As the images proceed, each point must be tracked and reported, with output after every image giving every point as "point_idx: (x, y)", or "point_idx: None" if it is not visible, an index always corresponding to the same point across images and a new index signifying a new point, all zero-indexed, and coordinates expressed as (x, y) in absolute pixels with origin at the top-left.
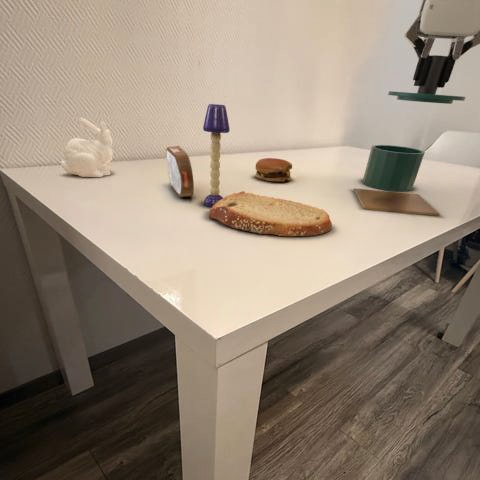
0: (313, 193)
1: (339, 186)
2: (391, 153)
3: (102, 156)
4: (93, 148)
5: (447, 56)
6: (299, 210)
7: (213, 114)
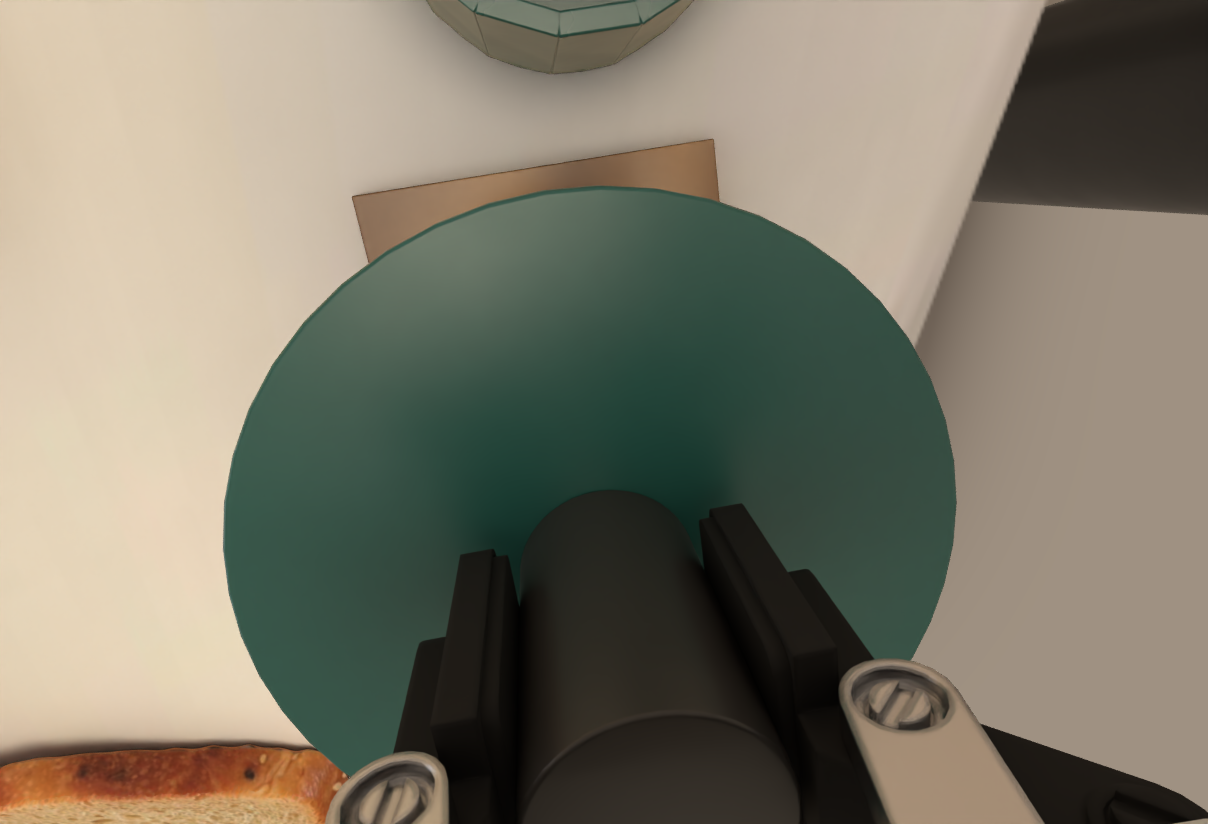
0: (160, 378)
1: (255, 129)
2: (504, 24)
3: None
4: None
5: (819, 770)
6: (214, 815)
7: None
